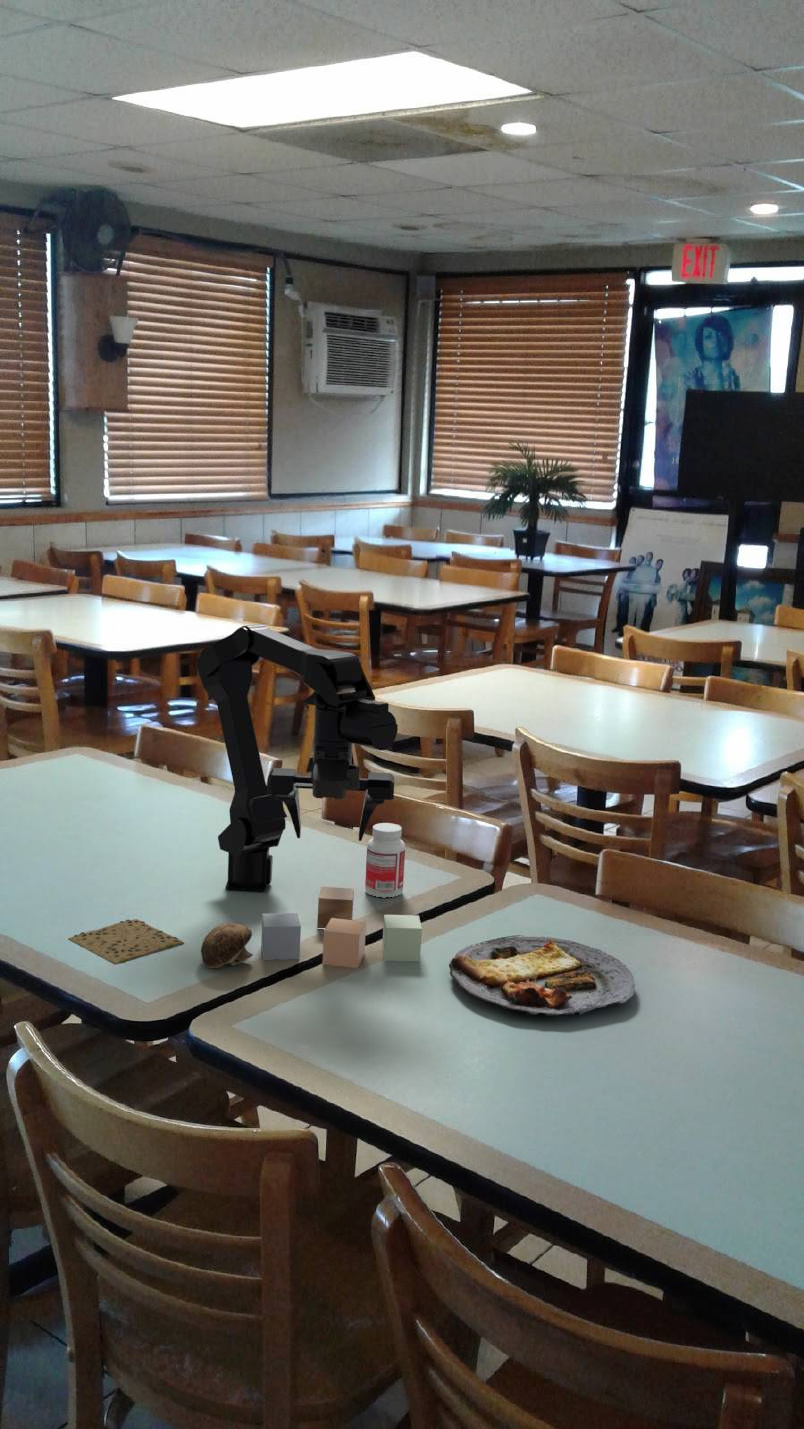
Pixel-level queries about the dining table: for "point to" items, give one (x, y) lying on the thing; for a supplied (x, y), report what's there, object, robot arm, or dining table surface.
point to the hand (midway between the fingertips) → (329, 839)
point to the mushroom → (226, 945)
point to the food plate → (542, 975)
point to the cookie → (125, 941)
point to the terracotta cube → (344, 942)
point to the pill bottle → (385, 861)
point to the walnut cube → (334, 904)
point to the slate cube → (280, 936)
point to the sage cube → (401, 938)
